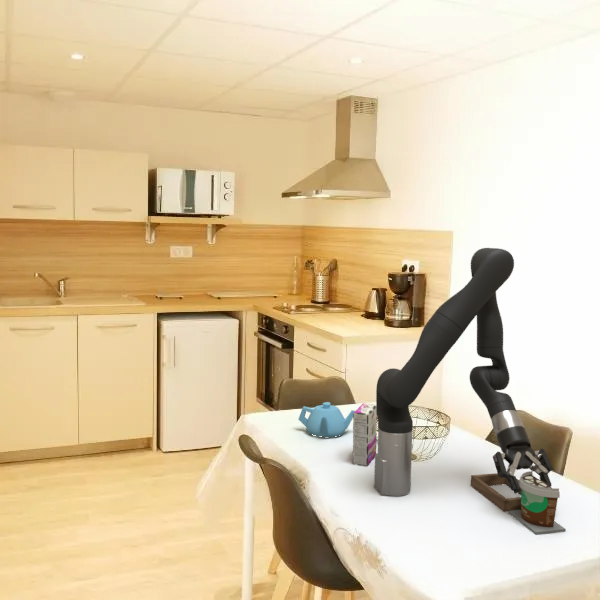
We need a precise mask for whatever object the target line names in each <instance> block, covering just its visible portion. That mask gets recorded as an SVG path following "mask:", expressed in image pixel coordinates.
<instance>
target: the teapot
mask: <svg viewBox="0 0 600 600" xmlns="http://www.w3.org/2000/svg"><path fill="white" fill-rule="evenodd" d="M355 411H356V410H351V411H350V412H349V413H348V415H347V416H346V417H344V415H343V413H342V412H341V409H340V408H339V407H337V406H336V405H331V402H330V401H326V402H322V404H320V405H316V406H314V408H312V407H309V406H305V405H303V407H302V408H301V412H300V414H299V416H298V421H299V422H301V424H302V425H303V426H305V428H306V430H307V432H308V433H309V434H310V435H311V434H313V435H316V436H322V437H335V436H339V435H341V436H342V435H344V433H345V432H346V430H347V429H348V428H349V426H350V424H351V422H352V421H353V413H354V412H355ZM307 413H309V416H308V417H307V418H306V414H307ZM313 435H312V436H313ZM339 437H340V436H339ZM335 438H336V437H335Z"/></svg>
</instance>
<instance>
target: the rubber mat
mask: <svg viewBox="0 0 600 600" xmlns="http://www.w3.org/2000/svg"><path fill="white" fill-rule="evenodd" d="M507 513H508V515H510V516H511V517H512V516H513V517H512V518H514V519H515V520H516V521H518V522H519V523H520V524H522V525H523V526H524V527H525V528H527V529H528V530H529V531H530V532H531V533H533V534H534V535H535V536H537V535H538V536H539V535H547V534H554V533H556V534H557V533H564V532H566V530H567V529H566V528H565V527H564V526H562V525H561V524H559V523H558V522H557V521H556V520H554V526H553V527H542V526H537V525H534V524H531V523H528V522H527V521H525V520H524V519H523V518H522V517H521V510H512V511H508V512H507Z"/></svg>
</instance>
